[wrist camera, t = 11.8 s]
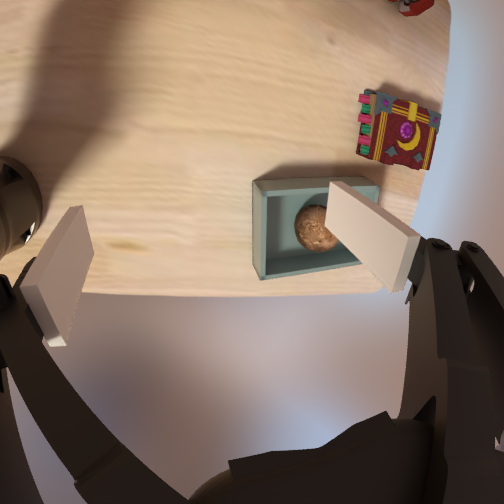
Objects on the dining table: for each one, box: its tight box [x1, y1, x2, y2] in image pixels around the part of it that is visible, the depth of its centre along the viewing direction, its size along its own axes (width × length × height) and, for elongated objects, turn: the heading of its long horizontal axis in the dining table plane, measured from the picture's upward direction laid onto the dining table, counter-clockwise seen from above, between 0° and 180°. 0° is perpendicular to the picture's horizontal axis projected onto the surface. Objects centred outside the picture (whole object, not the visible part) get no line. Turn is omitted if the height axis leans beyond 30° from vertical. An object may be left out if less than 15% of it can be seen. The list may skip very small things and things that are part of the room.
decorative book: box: [356, 90, 441, 170], centre depth 42 cm, size 11×16×5 cm
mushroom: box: [294, 204, 339, 252], centre depth 46 cm, size 8×8×6 cm
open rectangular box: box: [252, 176, 380, 281], centre depth 47 cm, size 20×15×5 cm
